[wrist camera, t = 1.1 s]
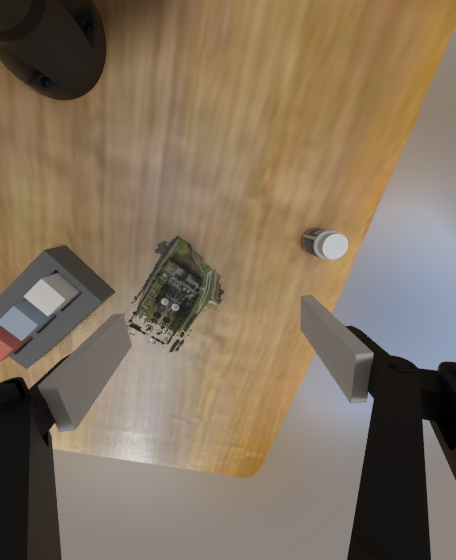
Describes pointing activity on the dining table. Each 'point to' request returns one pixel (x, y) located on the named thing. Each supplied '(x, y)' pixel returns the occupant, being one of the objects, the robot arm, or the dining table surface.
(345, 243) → the pill bottle
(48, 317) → the blue key
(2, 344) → the red key
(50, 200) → the dining table surface
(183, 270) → the treatment plant
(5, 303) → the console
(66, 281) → the white key
